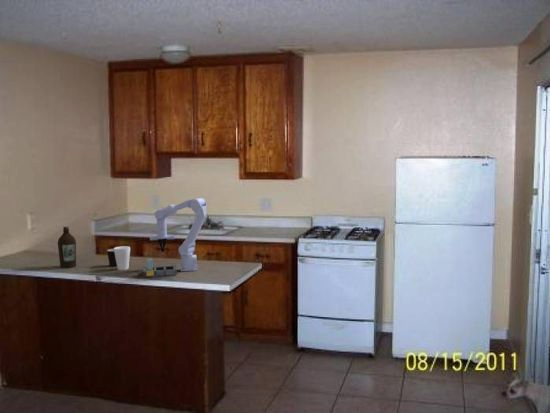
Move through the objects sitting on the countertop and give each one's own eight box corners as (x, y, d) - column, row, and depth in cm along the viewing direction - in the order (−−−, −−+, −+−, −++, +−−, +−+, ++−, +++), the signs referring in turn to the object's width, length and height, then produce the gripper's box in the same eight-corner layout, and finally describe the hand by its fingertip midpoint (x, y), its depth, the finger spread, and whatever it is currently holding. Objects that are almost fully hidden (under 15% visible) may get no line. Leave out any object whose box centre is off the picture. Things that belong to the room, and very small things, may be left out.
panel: (153, 271, 336) (152, 258, 336) (153, 274, 329) (152, 261, 328) (147, 272, 336) (147, 258, 335) (147, 275, 328) (147, 261, 327)
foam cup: (118, 271, 342) (117, 249, 341) (112, 268, 349) (111, 247, 348) (133, 268, 348) (132, 247, 346) (127, 266, 355) (126, 245, 354)
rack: (176, 270, 341) (176, 265, 341) (177, 275, 328) (176, 269, 328) (143, 272, 338) (143, 266, 337) (143, 277, 325) (142, 271, 324)
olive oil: (57, 266, 359) (54, 226, 356) (74, 264, 365) (72, 225, 362) (61, 269, 350) (59, 228, 347) (79, 267, 356) (77, 227, 353)
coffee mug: (108, 267, 352) (107, 251, 351) (107, 265, 360) (106, 249, 359) (127, 266, 357) (127, 250, 356) (126, 263, 365) (125, 247, 363)
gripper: (173, 227, 350) (174, 249, 352) (149, 228, 347) (150, 250, 349) (174, 229, 343) (175, 251, 345) (149, 230, 340) (150, 253, 342)
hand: (162, 251), depth 346 cm, fingers closed
